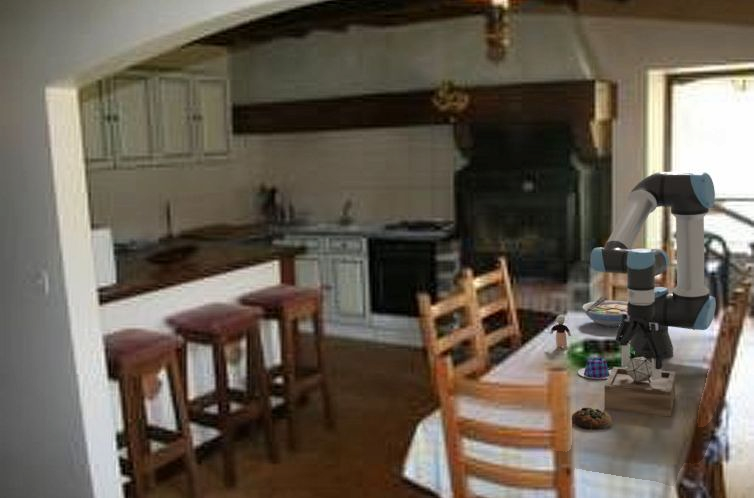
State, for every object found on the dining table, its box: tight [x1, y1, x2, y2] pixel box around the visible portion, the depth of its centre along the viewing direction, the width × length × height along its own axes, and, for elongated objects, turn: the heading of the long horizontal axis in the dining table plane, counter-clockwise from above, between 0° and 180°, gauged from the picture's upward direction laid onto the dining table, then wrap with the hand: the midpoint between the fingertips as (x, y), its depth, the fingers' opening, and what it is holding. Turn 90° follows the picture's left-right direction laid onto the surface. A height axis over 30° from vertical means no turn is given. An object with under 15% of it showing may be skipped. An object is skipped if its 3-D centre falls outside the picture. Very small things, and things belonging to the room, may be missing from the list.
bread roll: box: [571, 407, 613, 431], centre depth 216 cm, size 11×11×5 cm
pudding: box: [577, 357, 612, 380], centre depth 255 cm, size 12×12×5 cm
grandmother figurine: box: [550, 314, 572, 351], centre depth 285 cm, size 8×4×13 cm, turn 71°
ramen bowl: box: [582, 296, 629, 327], centre depth 313 cm, size 25×23×8 cm
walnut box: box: [603, 366, 676, 417], centre depth 229 cm, size 18×18×7 cm
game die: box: [623, 354, 652, 385], centre depth 228 cm, size 9×8×10 cm
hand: (640, 372), depth 228 cm, fingers open, 13 cm apart
